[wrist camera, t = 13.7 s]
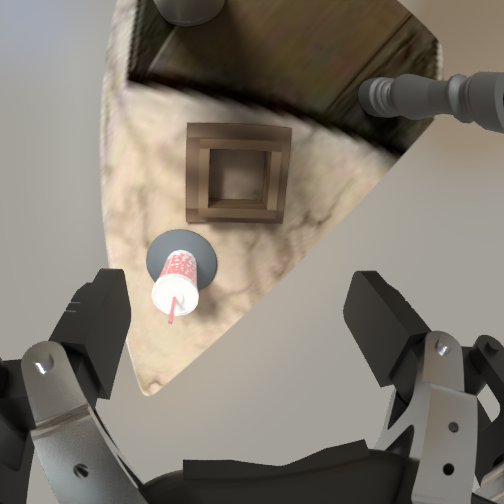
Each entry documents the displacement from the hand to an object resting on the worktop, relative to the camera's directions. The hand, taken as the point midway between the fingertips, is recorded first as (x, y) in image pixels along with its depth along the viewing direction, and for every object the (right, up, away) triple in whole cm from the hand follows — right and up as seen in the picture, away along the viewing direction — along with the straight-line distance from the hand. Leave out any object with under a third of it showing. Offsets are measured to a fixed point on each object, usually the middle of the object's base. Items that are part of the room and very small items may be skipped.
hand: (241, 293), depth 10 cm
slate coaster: (-11, 0, +34) cm, 36 cm away
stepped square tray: (-2, +12, +29) cm, 32 cm away
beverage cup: (-10, 0, +34) cm, 35 cm away
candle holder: (+19, +25, +26) cm, 41 cm away
